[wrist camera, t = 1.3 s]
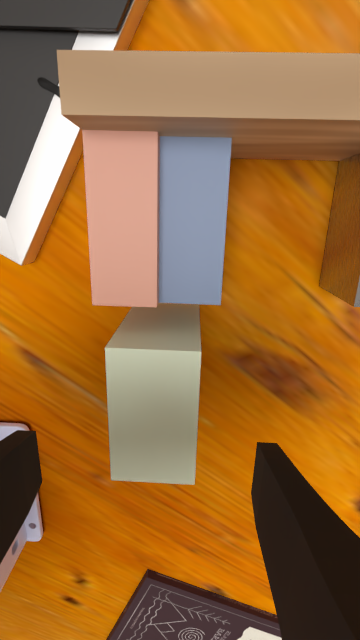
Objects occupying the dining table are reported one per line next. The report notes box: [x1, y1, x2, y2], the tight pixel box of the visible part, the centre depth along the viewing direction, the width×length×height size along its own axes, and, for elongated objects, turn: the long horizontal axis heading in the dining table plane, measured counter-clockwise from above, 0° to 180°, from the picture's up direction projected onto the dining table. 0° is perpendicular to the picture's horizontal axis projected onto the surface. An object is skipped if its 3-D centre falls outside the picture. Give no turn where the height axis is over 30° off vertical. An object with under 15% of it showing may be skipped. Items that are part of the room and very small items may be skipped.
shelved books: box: [82, 130, 232, 307], centre depth 14 cm, size 6×5×5 cm
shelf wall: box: [57, 50, 360, 161], centre depth 12 cm, size 2×12×7 cm, turn 89°
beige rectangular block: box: [105, 303, 201, 485], centre depth 16 cm, size 6×4×6 cm, turn 179°
